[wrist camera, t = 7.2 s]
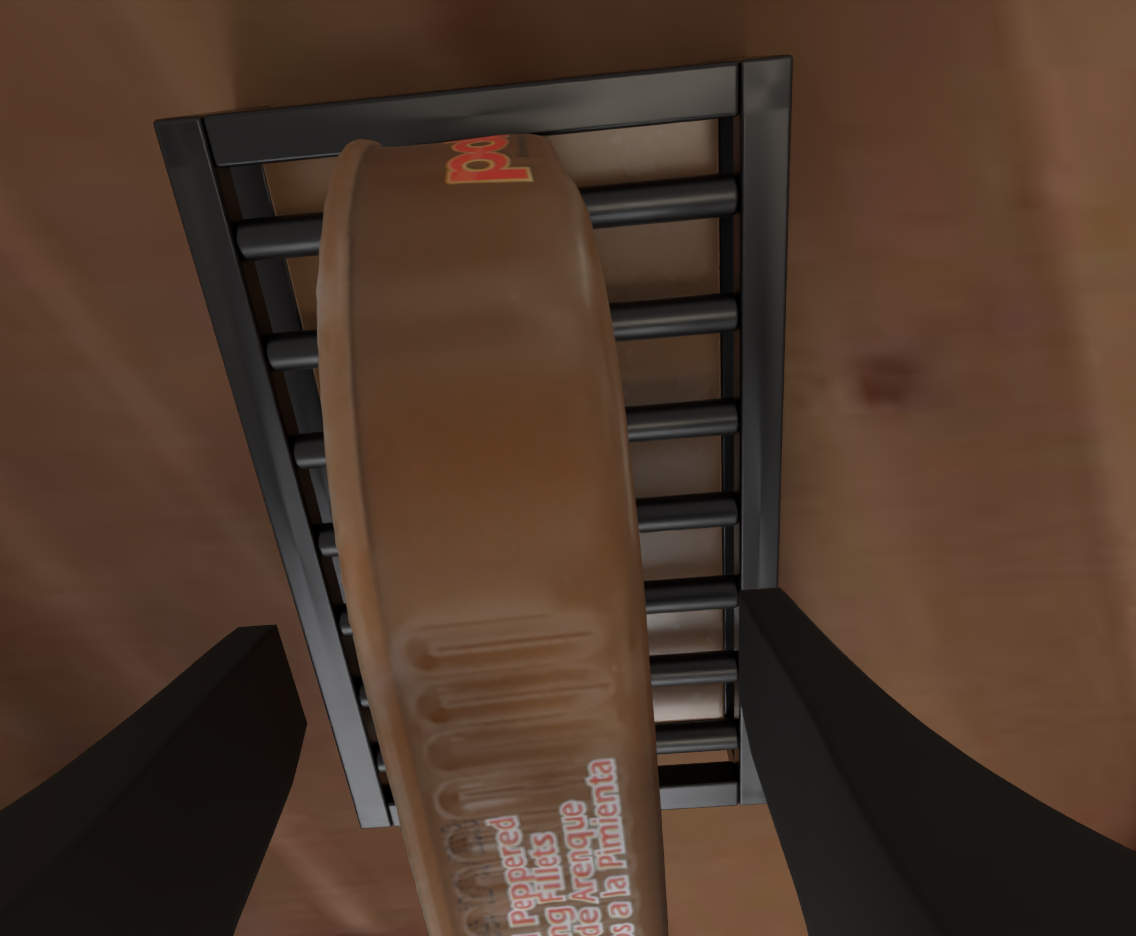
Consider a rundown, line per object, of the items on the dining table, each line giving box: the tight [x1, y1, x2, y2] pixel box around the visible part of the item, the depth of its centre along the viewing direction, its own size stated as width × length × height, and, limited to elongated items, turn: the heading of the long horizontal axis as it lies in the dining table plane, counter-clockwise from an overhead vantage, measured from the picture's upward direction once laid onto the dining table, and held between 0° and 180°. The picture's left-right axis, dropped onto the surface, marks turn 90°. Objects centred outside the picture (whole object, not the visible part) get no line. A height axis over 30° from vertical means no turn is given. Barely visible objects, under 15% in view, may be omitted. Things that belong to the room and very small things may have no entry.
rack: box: [154, 55, 793, 828], centre depth 18 cm, size 16×10×4 cm, turn 6°
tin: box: [316, 133, 668, 936], centre depth 12 cm, size 15×3×8 cm, turn 6°
